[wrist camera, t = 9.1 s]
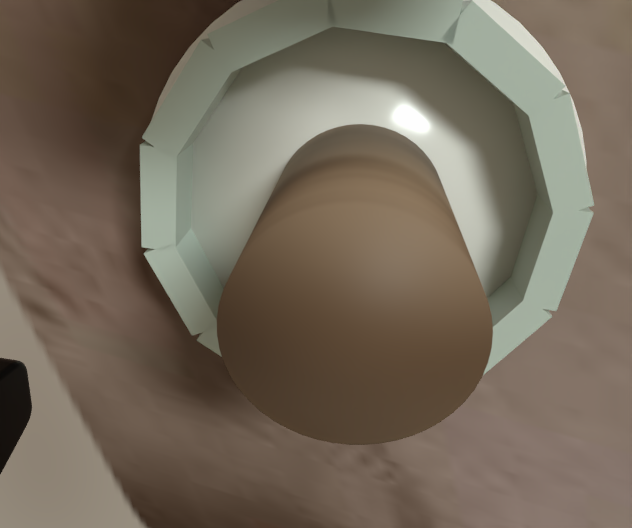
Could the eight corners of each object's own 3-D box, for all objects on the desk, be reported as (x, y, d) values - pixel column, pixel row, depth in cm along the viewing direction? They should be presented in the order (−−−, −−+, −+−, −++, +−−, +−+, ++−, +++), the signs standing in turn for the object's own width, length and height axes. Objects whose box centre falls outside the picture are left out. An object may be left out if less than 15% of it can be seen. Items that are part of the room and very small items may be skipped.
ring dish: (507, 401, 19) (521, 444, 18) (151, 345, 20) (129, 381, 18) (652, 2, 14) (697, 3, 12) (148, -68, 14) (113, -79, 12)
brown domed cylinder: (423, 294, 17) (454, 462, 11) (268, 270, 17) (210, 423, 11) (462, 138, 15) (529, 237, 9) (284, 111, 15) (223, 190, 9)
